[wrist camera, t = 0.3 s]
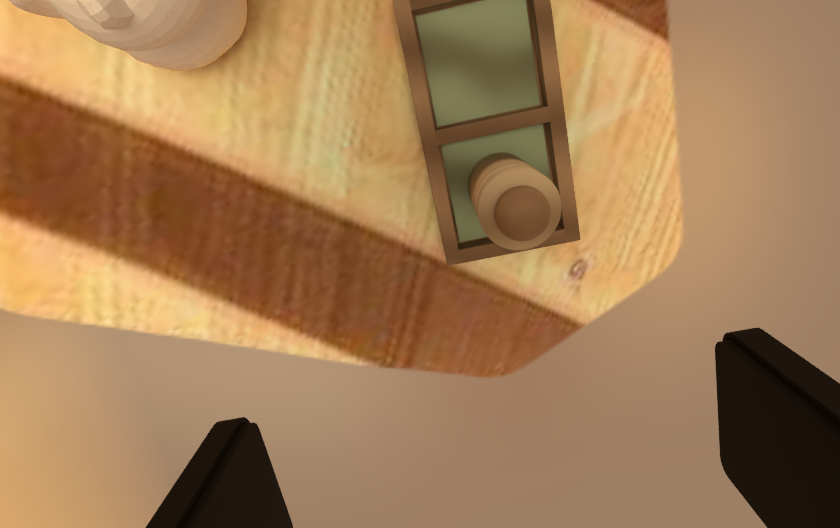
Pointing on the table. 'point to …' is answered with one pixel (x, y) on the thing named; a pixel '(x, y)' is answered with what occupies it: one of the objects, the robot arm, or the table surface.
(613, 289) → the table surface
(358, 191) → the table surface
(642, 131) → the table surface
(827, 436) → the robot arm
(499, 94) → the caddy
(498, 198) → the pepper mill
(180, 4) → the cat figurine
